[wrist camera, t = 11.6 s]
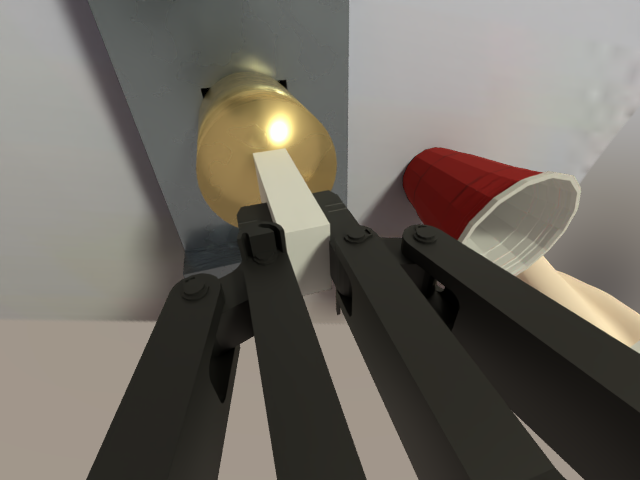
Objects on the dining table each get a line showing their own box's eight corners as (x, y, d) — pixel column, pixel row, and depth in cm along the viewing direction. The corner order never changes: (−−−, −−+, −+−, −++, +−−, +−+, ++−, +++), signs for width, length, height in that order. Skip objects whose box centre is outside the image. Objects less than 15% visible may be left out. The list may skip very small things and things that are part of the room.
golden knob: (186, 70, 21) (175, 110, 13) (287, 61, 22) (335, 91, 14) (212, 167, 25) (216, 244, 17) (296, 154, 26) (337, 219, 18)
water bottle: (435, 257, 40) (710, 551, 18) (491, 203, 37) (892, 473, 16) (472, 282, 46) (715, 529, 24) (523, 237, 43) (848, 470, 21)
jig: (56, -124, 15) (-8, -182, 11) (331, -116, 18) (375, -160, 13) (196, 256, 30) (194, 302, 25) (336, 227, 32) (358, 263, 28)
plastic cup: (410, 237, 37) (481, 314, 27) (359, 180, 30) (429, 256, 21) (489, 171, 34) (595, 231, 25) (451, 94, 28) (576, 137, 18)
